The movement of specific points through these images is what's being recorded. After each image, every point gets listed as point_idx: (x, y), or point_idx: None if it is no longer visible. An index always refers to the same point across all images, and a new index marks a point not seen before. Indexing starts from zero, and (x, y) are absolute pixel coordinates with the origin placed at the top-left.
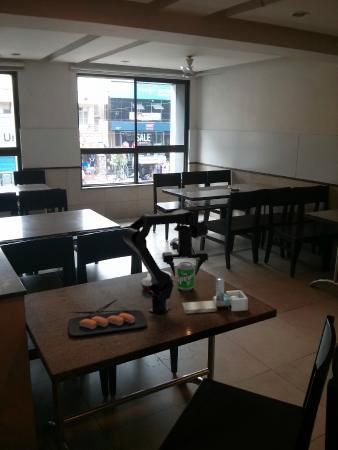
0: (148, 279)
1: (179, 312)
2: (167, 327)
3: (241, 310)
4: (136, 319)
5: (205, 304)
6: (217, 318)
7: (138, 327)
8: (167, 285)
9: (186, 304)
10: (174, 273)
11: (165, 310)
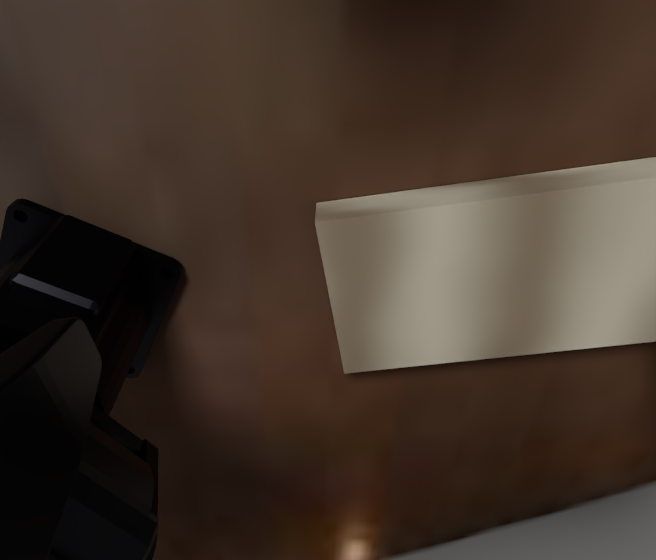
0: None
1: (288, 328)
2: (210, 511)
3: None
4: None
5: (586, 267)
6: (612, 422)
7: None
8: None
9: (364, 261)
10: (64, 466)
11: (147, 327)
